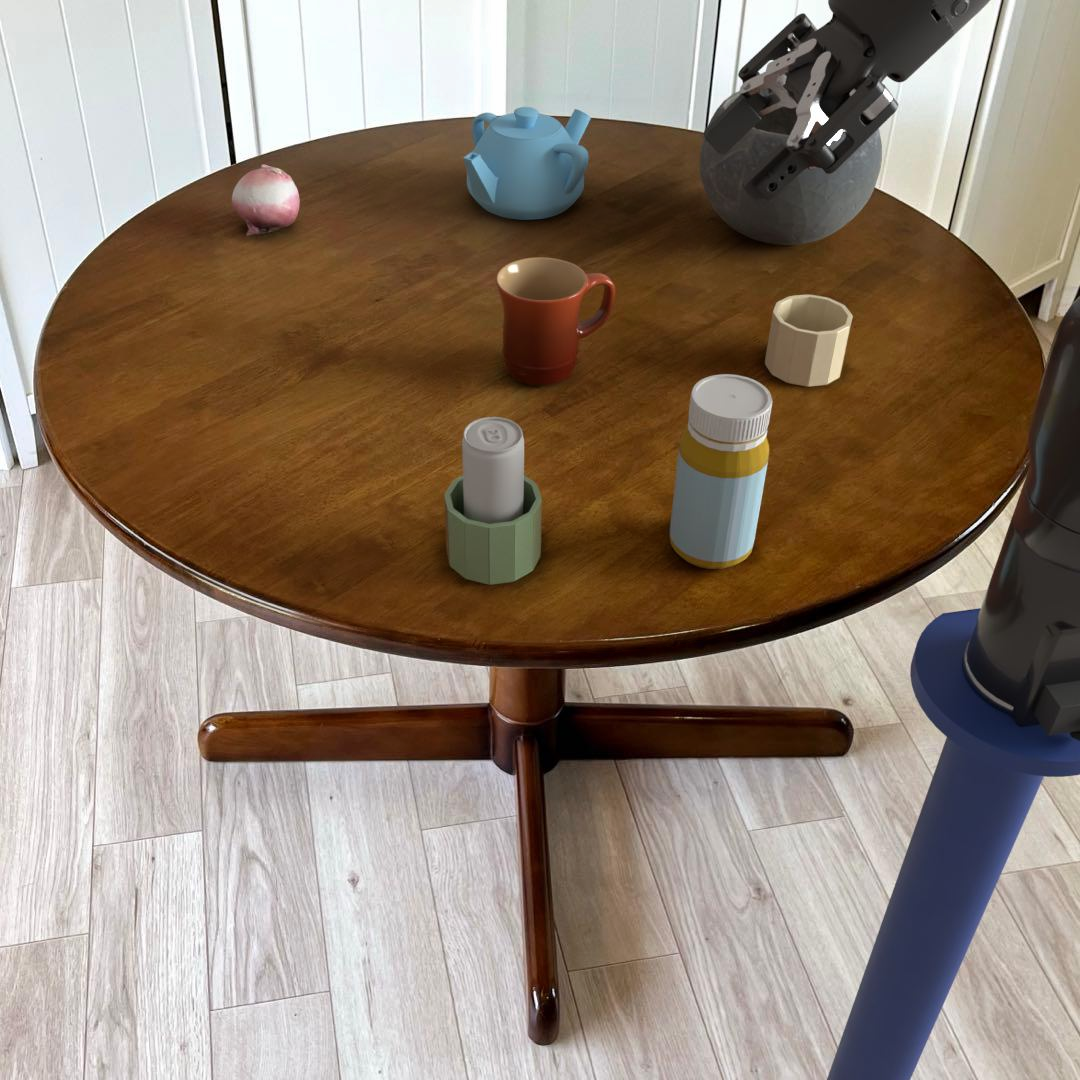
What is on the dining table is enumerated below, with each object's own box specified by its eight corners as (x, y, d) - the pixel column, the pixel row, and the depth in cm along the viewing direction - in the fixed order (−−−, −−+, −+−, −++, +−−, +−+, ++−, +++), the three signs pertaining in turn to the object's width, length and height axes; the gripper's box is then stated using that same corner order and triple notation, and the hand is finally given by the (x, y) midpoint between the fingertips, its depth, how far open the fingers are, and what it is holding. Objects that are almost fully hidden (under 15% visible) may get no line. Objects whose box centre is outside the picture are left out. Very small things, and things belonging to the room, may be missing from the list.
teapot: (608, 222, 149) (613, 131, 142) (465, 230, 147) (463, 138, 140) (587, 170, 161) (590, 83, 154) (454, 176, 159) (451, 89, 152)
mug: (513, 401, 119) (513, 307, 113) (484, 356, 126) (483, 264, 119) (626, 379, 123) (633, 287, 116) (593, 336, 129) (598, 246, 122)
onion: (316, 227, 147) (310, 169, 142) (265, 249, 142) (257, 191, 138) (272, 207, 151) (264, 150, 146) (221, 228, 146) (212, 170, 142)
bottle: (767, 563, 102) (794, 412, 92) (690, 581, 100) (710, 429, 90) (729, 512, 107) (751, 364, 97) (655, 528, 105) (670, 379, 95)
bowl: (901, 240, 147) (928, 116, 137) (779, 289, 137) (800, 160, 128) (778, 181, 159) (796, 63, 149) (659, 222, 150) (669, 99, 140)
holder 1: (547, 577, 100) (549, 520, 96) (455, 589, 99) (452, 531, 95) (529, 519, 106) (530, 463, 102) (441, 529, 104) (439, 473, 101)
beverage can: (516, 530, 105) (517, 412, 97) (528, 567, 101) (530, 448, 93) (460, 537, 104) (457, 419, 96) (470, 574, 100) (467, 455, 92)
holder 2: (852, 382, 123) (864, 329, 119) (780, 389, 122) (790, 336, 118) (824, 343, 129) (834, 291, 125) (755, 349, 128) (763, 298, 124)
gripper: (845, -84, 83) (667, 96, 88) (939, -22, 72) (731, 178, 78) (902, -4, 87) (729, 162, 93) (999, 65, 77) (797, 249, 82)
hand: (730, 169), depth 85 cm, fingers open, 8 cm apart
